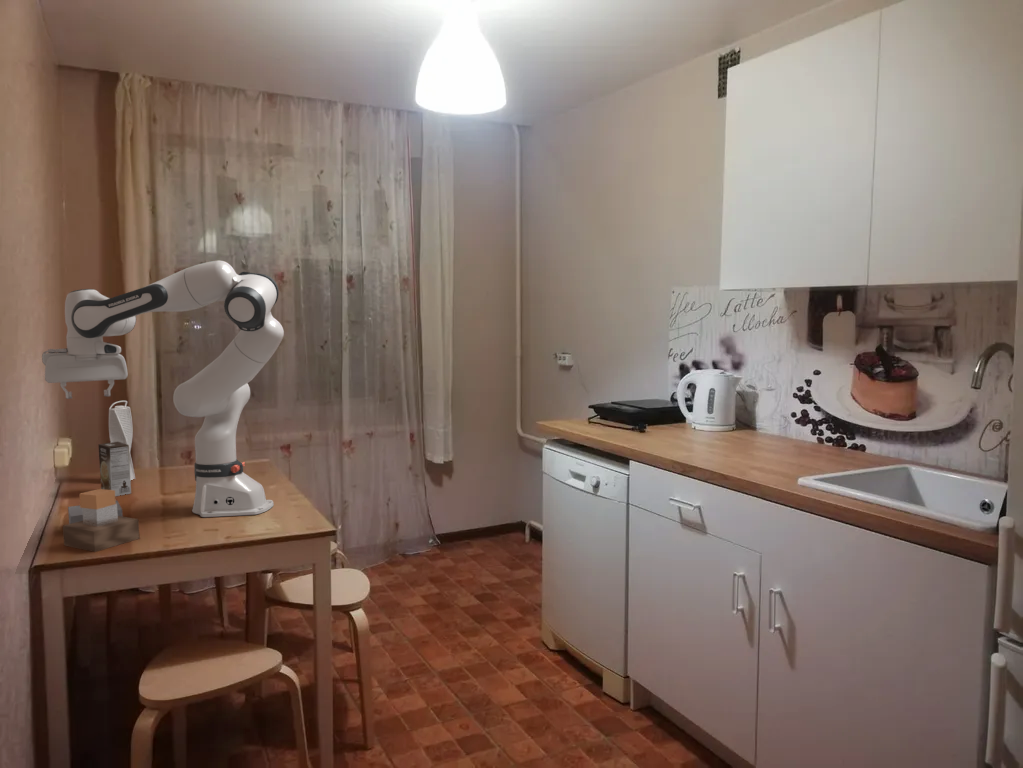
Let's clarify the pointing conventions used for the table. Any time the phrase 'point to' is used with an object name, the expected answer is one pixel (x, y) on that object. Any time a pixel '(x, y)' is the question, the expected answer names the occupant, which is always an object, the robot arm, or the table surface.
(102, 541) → the stand
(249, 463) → the table surface
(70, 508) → the stand
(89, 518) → the housing base
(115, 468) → the coffee box
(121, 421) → the skyscraper
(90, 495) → the cover
